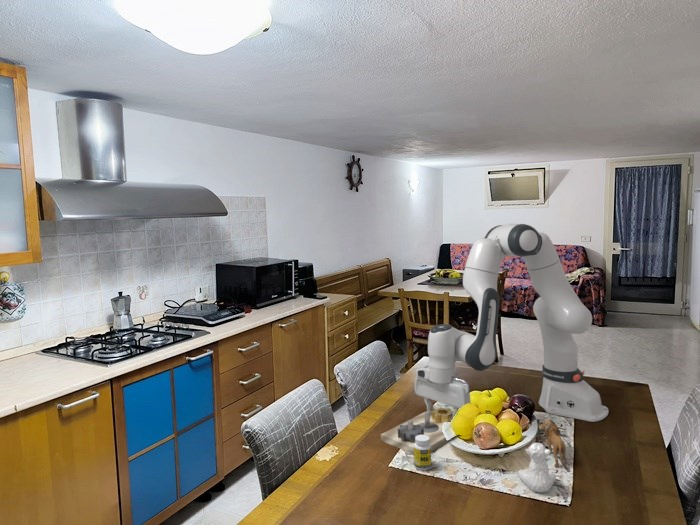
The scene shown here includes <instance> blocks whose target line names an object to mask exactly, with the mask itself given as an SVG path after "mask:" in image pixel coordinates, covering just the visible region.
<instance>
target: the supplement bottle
mask: <svg viewBox="0 0 700 525" xmlns="http://www.w3.org/2000/svg"><path fill="white" fill-rule="evenodd" d="M413 465H414V468H415V469H417V470H419V471H427V470H429V469H431V467H432V452H431V445H430V438H429V437H428V436H427V435H417V436H416V437H415V444H414V454H413Z"/></svg>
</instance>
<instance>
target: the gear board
mask: <svg viewBox="0 0 700 525" xmlns="http://www.w3.org/2000/svg"><path fill="white" fill-rule="evenodd" d="M435 409H436V408H434V407H433V411H434V410H435ZM433 411H428V410H426V411H424V412H422V413H420V414H418V415H416V416H414V417H413V418H410V419H408V420H405V421H404V422H402V423H400V424H398V425H397V426H394V427H393V428H391V429H389V430H387V431H385V432H383V433H380V441H381V442H383V443H386V444H388V445H391V446H393V447H395V448H398V449H399V450H402V449H403V451H405V452H407V453H409V454H412V455H414V444H415V437H416V436H417V435H427V436H428V437H429V438H430V445H431V453H432V452H434V451H435V450H437V449H439V448H440V447H442V446H444V445H445V444H446V442H447V440H446V438H445V436H444V434H443V432H442V425H443V423H436V422H435V421H434V420H432V412H433ZM447 443H448V442H447ZM441 445H442V446H441ZM438 447H439V448H438Z"/></svg>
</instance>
